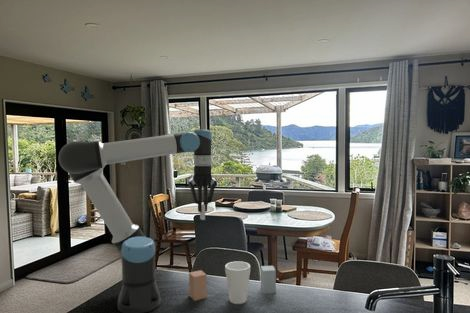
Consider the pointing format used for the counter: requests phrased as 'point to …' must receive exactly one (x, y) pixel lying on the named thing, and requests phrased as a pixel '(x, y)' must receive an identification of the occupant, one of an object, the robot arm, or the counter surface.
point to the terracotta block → (197, 285)
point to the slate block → (268, 279)
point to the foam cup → (237, 281)
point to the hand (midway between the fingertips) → (202, 219)
